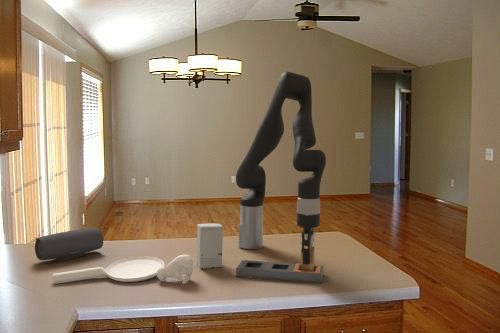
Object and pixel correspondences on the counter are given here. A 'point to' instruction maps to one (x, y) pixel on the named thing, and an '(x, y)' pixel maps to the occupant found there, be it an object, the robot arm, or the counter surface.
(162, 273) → the white animal figurine
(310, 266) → the oak peg
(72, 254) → the bluetooth speaker
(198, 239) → the skincare box
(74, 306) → the counter surface
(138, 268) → the frying pan
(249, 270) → the graphite rail
